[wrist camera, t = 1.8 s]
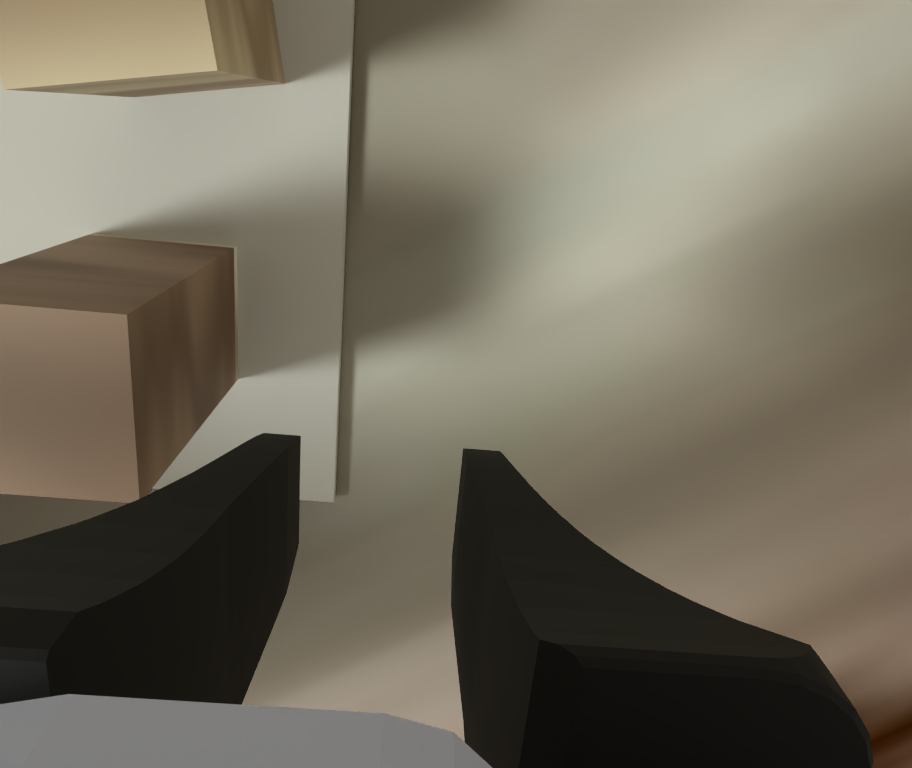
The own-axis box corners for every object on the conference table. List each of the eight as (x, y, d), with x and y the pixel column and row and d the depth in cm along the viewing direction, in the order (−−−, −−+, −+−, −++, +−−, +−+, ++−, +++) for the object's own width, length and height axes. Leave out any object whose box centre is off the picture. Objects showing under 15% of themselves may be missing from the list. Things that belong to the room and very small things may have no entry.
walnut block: (238, 378, 22) (139, 503, 15) (103, 367, 22) (-62, 489, 15) (236, 246, 20) (126, 314, 13) (92, 233, 20) (-96, 295, 13)
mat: (335, 496, 24) (333, 502, 23) (-169, 458, 23) (-180, 464, 23) (361, -160, 17) (359, -165, 17) (-329, -239, 17) (-347, -246, 16)
